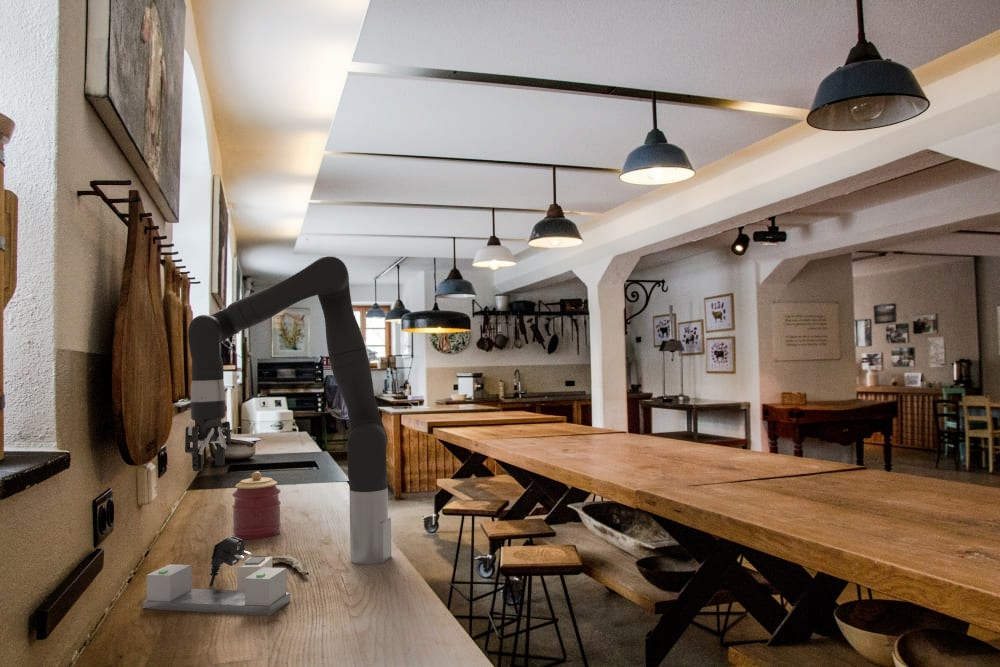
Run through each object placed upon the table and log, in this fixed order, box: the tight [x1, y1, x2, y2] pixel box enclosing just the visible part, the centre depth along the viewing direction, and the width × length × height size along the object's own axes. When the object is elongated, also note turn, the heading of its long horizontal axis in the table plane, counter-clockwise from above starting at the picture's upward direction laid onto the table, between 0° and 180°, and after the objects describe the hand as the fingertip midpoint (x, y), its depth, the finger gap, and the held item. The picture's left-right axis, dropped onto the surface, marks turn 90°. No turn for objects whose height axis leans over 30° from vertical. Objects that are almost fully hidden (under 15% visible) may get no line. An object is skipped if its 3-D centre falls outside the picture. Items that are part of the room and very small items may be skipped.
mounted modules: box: [146, 563, 287, 606], centre depth 138 cm, size 26×7×5 cm, turn 80°
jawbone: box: [251, 554, 310, 577], centre depth 163 cm, size 9×20×2 cm, turn 55°
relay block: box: [236, 556, 273, 591], centre depth 148 cm, size 5×7×6 cm
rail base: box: [142, 588, 291, 617], centre depth 138 cm, size 27×8×2 cm, turn 80°
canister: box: [232, 471, 282, 540], centre depth 197 cm, size 13×13×18 cm
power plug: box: [208, 535, 253, 587], centre depth 150 cm, size 6×8×12 cm
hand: (209, 467), depth 165 cm, fingers open, 8 cm apart
